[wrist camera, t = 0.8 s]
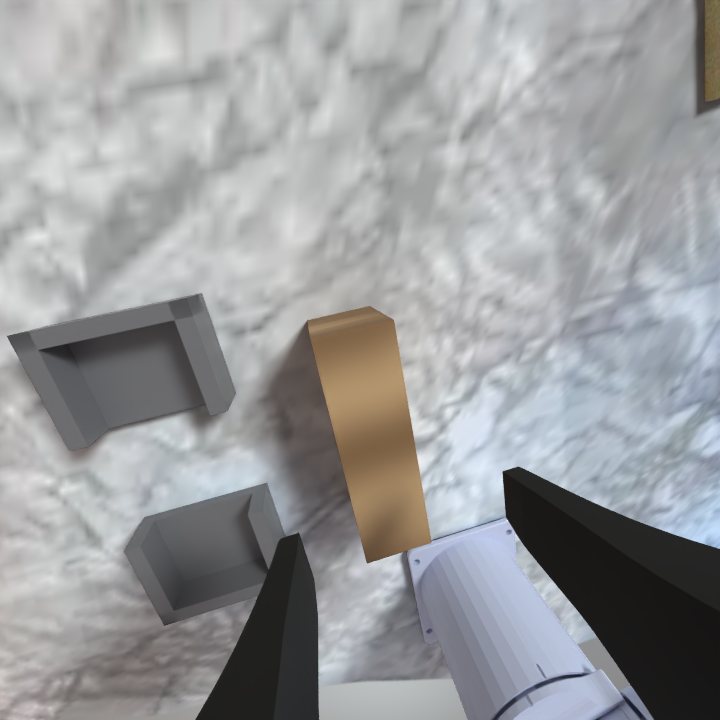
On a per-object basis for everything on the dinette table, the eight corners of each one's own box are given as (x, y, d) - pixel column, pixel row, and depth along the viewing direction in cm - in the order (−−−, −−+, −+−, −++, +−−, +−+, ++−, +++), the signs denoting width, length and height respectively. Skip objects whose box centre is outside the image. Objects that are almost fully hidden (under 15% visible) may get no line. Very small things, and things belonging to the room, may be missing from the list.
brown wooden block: (402, 483, 22) (431, 542, 17) (351, 498, 22) (367, 563, 17) (369, 305, 18) (393, 319, 14) (306, 319, 18) (310, 339, 13)
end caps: (290, 552, 22) (289, 585, 19) (178, 586, 21) (164, 625, 19) (201, 293, 17) (186, 297, 14) (48, 325, 16) (6, 335, 13)
